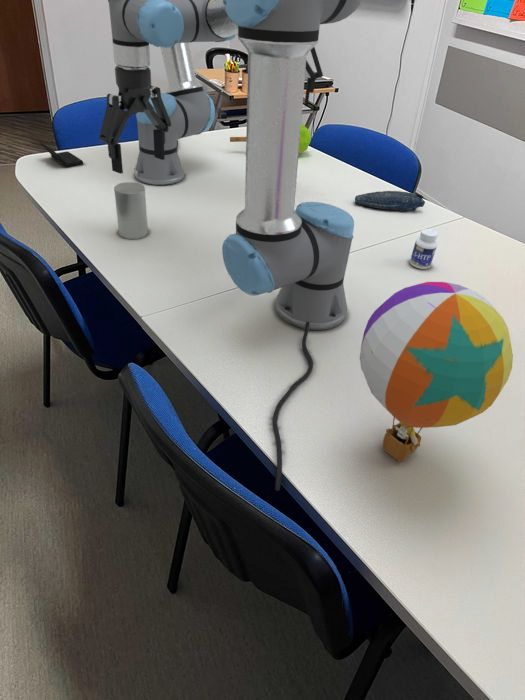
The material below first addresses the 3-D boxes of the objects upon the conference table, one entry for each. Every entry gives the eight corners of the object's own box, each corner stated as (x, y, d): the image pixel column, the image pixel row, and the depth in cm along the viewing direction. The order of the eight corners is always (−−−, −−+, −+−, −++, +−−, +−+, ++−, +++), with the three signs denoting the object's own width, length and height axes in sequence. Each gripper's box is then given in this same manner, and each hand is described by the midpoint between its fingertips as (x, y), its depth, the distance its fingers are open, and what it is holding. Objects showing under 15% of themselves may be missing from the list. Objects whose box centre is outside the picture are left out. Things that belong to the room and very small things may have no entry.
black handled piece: (88, 157, 170) (65, 134, 161) (76, 174, 168) (53, 153, 160) (67, 152, 176) (45, 131, 168) (56, 170, 175) (33, 149, 166)
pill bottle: (408, 266, 131) (417, 234, 126) (410, 257, 135) (419, 225, 130) (429, 271, 130) (439, 239, 125) (431, 262, 134) (441, 230, 129)
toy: (311, 442, 83) (343, 281, 64) (387, 392, 94) (434, 241, 75) (410, 529, 72) (484, 365, 53) (484, 461, 83) (567, 304, 64)
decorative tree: (227, 117, 189) (306, 117, 195) (226, 146, 196) (303, 145, 201) (234, 131, 176) (319, 131, 181) (233, 162, 182) (315, 161, 187)
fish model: (423, 215, 157) (428, 199, 154) (354, 208, 158) (357, 191, 155) (420, 206, 162) (425, 191, 159) (353, 199, 163) (356, 184, 160)
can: (153, 231, 136) (150, 186, 129) (135, 241, 131) (131, 196, 124) (131, 223, 139) (127, 179, 131) (112, 233, 134) (107, 188, 126)
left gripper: (238, 7, 125) (234, 102, 138) (341, 16, 125) (327, 110, 139) (239, 4, 130) (236, 95, 144) (338, 13, 131) (325, 103, 145)
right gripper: (161, 56, 121) (164, 149, 134) (73, 69, 105) (87, 173, 118) (185, 63, 118) (186, 156, 131) (98, 77, 102) (109, 182, 115)
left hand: (281, 103), depth 141 cm, fingers open, 13 cm apart
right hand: (139, 164), depth 125 cm, fingers open, 13 cm apart
